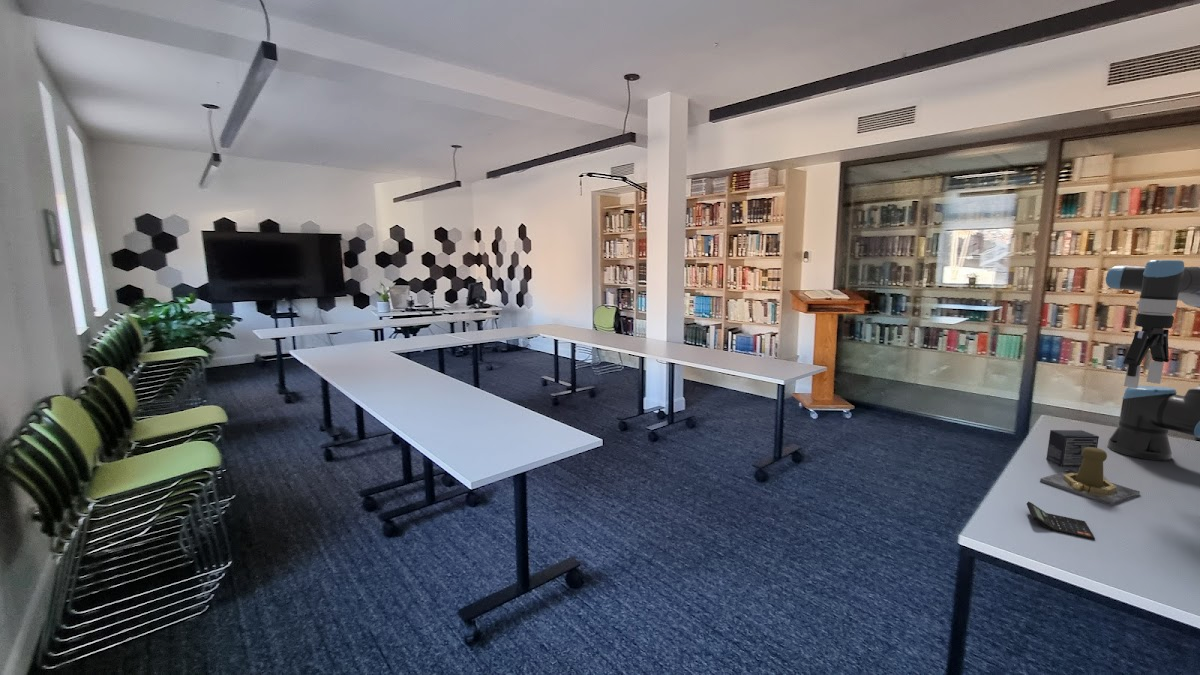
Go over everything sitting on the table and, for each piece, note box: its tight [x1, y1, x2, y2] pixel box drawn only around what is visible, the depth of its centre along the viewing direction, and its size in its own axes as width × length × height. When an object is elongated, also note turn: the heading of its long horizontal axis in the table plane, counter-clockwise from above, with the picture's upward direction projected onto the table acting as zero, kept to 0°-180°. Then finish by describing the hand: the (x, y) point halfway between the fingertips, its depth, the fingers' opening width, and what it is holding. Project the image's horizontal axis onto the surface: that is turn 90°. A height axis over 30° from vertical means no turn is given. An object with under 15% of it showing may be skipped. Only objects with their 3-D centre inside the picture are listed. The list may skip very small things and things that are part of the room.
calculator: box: [1026, 501, 1096, 541], centre depth 128 cm, size 9×12×3 cm
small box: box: [1045, 429, 1100, 468], centre depth 165 cm, size 11×6×10 cm, turn 88°
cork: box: [1075, 447, 1108, 487], centre depth 148 cm, size 6×6×11 cm
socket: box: [1040, 469, 1141, 507], centre depth 148 cm, size 16×16×2 cm
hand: (1142, 384), depth 152 cm, fingers open, 13 cm apart
